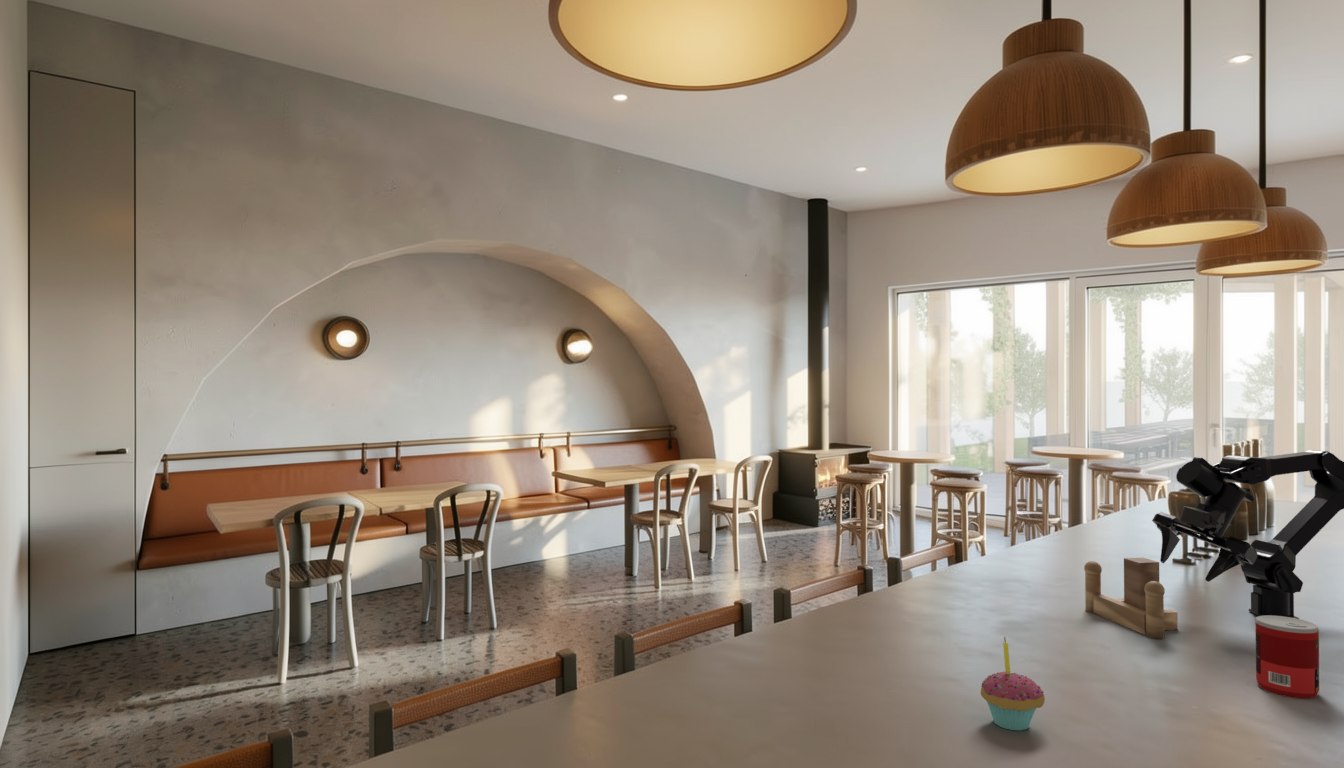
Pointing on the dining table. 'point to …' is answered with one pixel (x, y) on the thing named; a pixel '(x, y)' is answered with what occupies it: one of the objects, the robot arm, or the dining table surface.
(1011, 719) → the cupcake
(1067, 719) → the dining table surface
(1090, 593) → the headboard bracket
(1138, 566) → the block
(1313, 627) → the canned food
